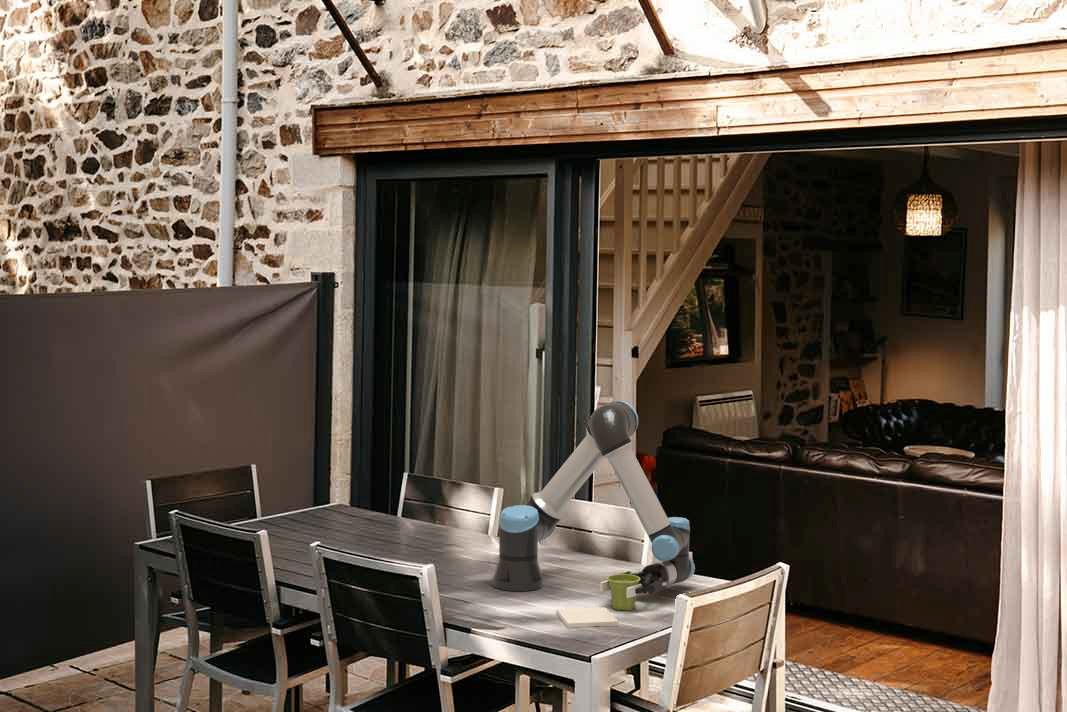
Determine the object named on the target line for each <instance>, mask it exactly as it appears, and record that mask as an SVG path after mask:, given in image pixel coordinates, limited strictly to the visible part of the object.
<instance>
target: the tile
mask: <svg viewBox="0 0 1067 712" xmlns="http://www.w3.org/2000/svg"><path fill="white" fill-rule="evenodd" d="M556 615H557V616H558V617H559V618H560V620H561V621H562V622H563V624H564V625H565V626H566V627H567V628H571V629H572V628H573V629H575V628H593V627H594V626H600V627H618V626H619V620H618V619H617V618H616V617H615V616H614V615H613V614H612V613H611V612H610V610H609V609H608V608H606V607H585V608H583V607H581V608H578V607H577V608H560V609H559V608H557V609H556Z"/></svg>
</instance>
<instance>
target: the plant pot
mask: <svg viewBox="0 0 1067 712" xmlns="http://www.w3.org/2000/svg"><path fill="white" fill-rule="evenodd" d="M606 580H608V581H609V585H610V590H609V591H610V595H611V596H610V597H611V606H612V609H614V610H617V611H621V610H622V611H631V610H634V608H635V605H636V597H637V595H636V596H633V597H630V598H626V589H627V588H628V587H631V586H634V585H637V584H638V583H639V581H640V577H638V576H635V575H629V574H621V573H618V574H611V575H608V577H606Z"/></svg>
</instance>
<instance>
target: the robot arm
mask: <svg viewBox="0 0 1067 712" xmlns="http://www.w3.org/2000/svg"><path fill="white" fill-rule="evenodd" d="M638 425H639V416H638V413H637V411H636V409H635V408H634V407H633V406H632V404H630V403H628V402H625V401H621V400H614V401H610V402H609V403H607V404H604V405H600V406H598V407H597V408H596V409H595V410H594V411H593V412H592V414H591V416H590V418H589V424H588V425H587V427H586V429H585V432H586V435H585V437H584V438H583V439H582V440H581V442H580V443H579V444H578V446H577V447H576V448H575V449H574V450H573V452H572V453H571V454H570V455H569V457H568V458H567V459H566V461H565V462H563V464H562V466H561V467H560V468H559V469H558V470H557V471H556V473H555V474H554V475H553V476H552V478H551V479H550V480H549V482H547V484H546V485H545V486H544V487H543V489H542V490H541V491H540V492H534V493H532V495H530V497H529V498H528V500H527V501H526V502H525V503H524V504H520V505H519V504H517V505H513V506H508V507H504V508H503V510H501V512H500V513H499V519H498V524H499V525H498V526H499V539H498V541H499V542H498V545H499V546H498V547H499V549H498V550H499V551H498V557H499V558H498V562H497V566H496V569H495V571H494V575H493V578H492V579H493V580H492V585H493V587H494V588H496V589H499V590H502V591H509V592H510V591H511V592H529V591H535V590H539V589H541V588H542V587H543V586H544V584H543V583H544V577H543V574H542V571H541V567H540V563H539V559H538V555H539V553H538V552H539V551H538V550H539V548H538V547H539V543H540V542H542V541H543V540H545V539H546V538H548V537H550V536H551V535H552V533H553V532H554V531H555V529H556V526H557V525H558V523H559V522H560V521H561V520H562V519H563V516H564V515H563V509H565V507H566V506H567V504H568V503H569V502H571V500H572V498H573V497H574V496H575V495H576V493H577V492H579V490H580V489H581V488H582V486H583V485H584V484H585V483H586V481H588V479H589V478H590V476H591V475H592V474H593V473H594V472H595V470H596V469H597V468H598V467H599V465H600V464H601V463H602V462H603V460H605V459H607V460H608V462H609V465H610V466H611V468H612V470H613V472H614V474H615V476H616V478H617V480H618V482H619V483H620V485H621V487H622V489H623V491H624V493H625V494H626V497H627V498H628V501H629V503H630V504H631V506H632V508H633V510H634V511H635V512H634V513H635V514H636V515H637V517H638V520H639V521H640V523H641V525H642V527H643V529H644V531H645V534H646V535H647V537H648V538H649V540H650V543H651V547H650V549H651V552H652V555H653V557H654V558H655V559H657V560H658V561H657V562H654V563H651V564H648V565H646V566H644V567H643V569H642V570H641V571H639V572H635V573H632V571H629V570H628V571H626V572H623V573H622V572H621V573H620V574H629V575H635V576H638V577H640V581H639V583H638V584H637V585H634V586H631V587H628V588H627V589H626V598H630V597H633V596H636V597H637V596H638V595H642V594H643V595H644V594H647V593H648V594H649V595H655V594H656V593H657V592H659V591H661V590H663V589H666V588H668V586H672V585H676V584H678V583H682V582H685V581H686V580H689V579H690V578H691V577H693V575H694V573H695V572H696V571H695V570H696V567H695V566H696V565H695V563H694V560H693V559H692V557H691V556H690V554H689V553H690V532H691V528H690V520H689V519H687V518H686V517H678V516H672V517H668V516H667V514H666V512H665V510H664V509H663V506H662V504H661V503H660V502H661V501H660V500H659V498H658V497H657V495H656V493H655V491H654V489H653V487H652V485H651V484H650V481H649V480H648V478H647V476H646V474H645V472H644V469H643V468H642V467H641V464H640V463H639V461H638V459H637V456H636V455H635V453H634V451H633V449H632V444H633V441H632V439H631V438H630V437H631V436H633V435H634V434H635V433H636V431H637V429H638V427H639V426H638ZM608 576H609V575H608ZM608 576H607V577H608ZM607 577H606V578H607ZM607 591H611V590H610V585H609V581H608V580H607V579H606V580H604V581H601V582H599V592H600V593H605V592H607Z"/></svg>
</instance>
